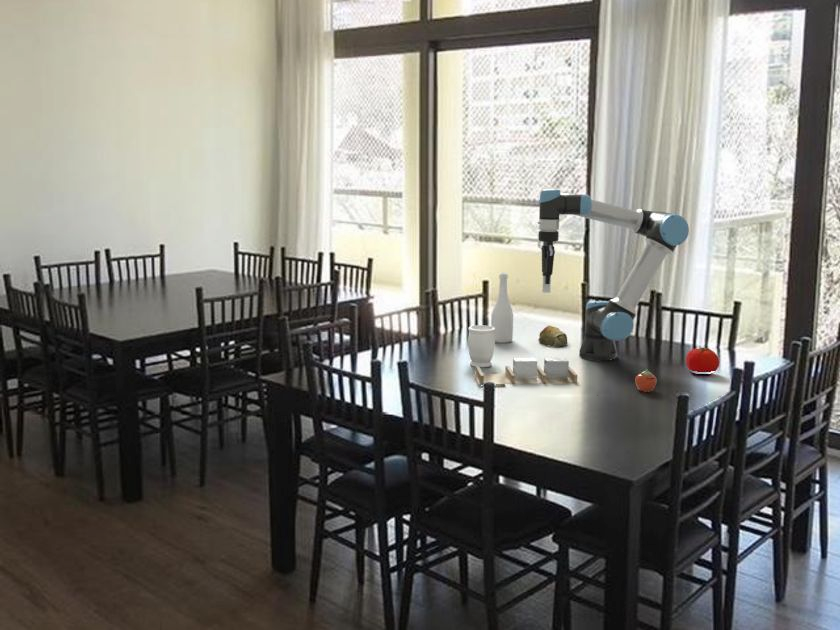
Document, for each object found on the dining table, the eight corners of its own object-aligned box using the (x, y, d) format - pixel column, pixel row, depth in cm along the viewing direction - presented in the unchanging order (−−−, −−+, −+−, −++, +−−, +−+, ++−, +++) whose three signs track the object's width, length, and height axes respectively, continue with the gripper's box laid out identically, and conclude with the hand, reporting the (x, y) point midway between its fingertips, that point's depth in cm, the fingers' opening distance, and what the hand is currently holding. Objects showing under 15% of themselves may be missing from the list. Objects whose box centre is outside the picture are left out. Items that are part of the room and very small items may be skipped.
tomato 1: (643, 394, 303) (644, 372, 301) (629, 389, 309) (631, 367, 308) (660, 392, 305) (662, 370, 304) (647, 387, 312) (648, 365, 311)
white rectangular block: (534, 376, 321) (534, 358, 319) (536, 379, 316) (537, 361, 315) (512, 376, 320) (513, 358, 319) (514, 379, 316) (515, 361, 314)
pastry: (537, 340, 388) (537, 322, 386) (565, 340, 387) (566, 323, 385) (539, 347, 374) (540, 328, 372) (569, 348, 373) (569, 329, 372)
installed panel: (565, 376, 321) (565, 358, 320) (567, 379, 317) (568, 361, 316) (543, 376, 321) (544, 358, 320) (546, 380, 316) (546, 361, 315)
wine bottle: (513, 343, 379) (515, 275, 374) (491, 343, 379) (493, 274, 374) (511, 338, 389) (513, 272, 383) (490, 338, 389) (491, 271, 383)
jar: (492, 369, 335) (493, 331, 332) (465, 367, 337) (466, 329, 334) (495, 362, 345) (496, 325, 342) (469, 361, 347) (470, 324, 344)
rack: (569, 375, 326) (569, 365, 326) (579, 386, 312) (580, 376, 311) (473, 376, 324) (473, 366, 323) (479, 387, 309) (479, 376, 308)
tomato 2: (692, 368, 340) (694, 342, 338) (723, 374, 331) (725, 348, 329) (677, 373, 332) (679, 346, 330) (709, 379, 324) (711, 352, 322)
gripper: (535, 228, 336) (533, 289, 340) (542, 232, 323) (540, 295, 327) (554, 228, 336) (552, 289, 341) (562, 232, 323) (559, 295, 328)
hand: (546, 292), depth 334 cm, fingers closed
